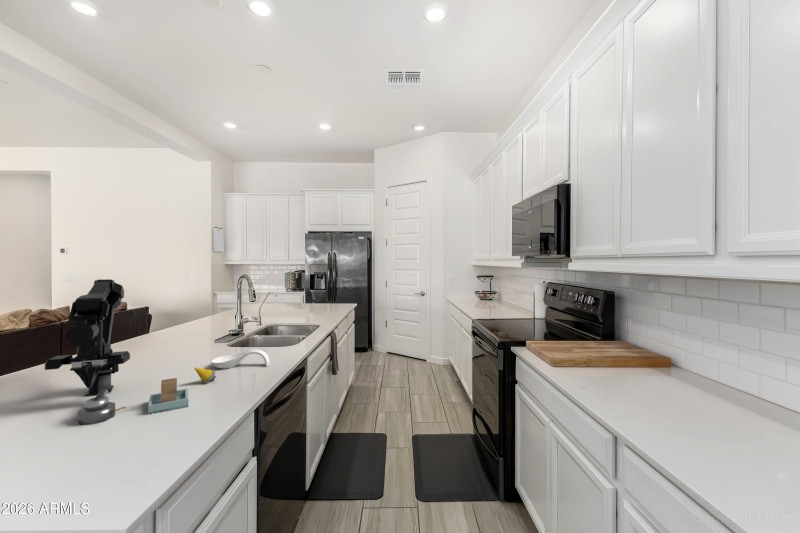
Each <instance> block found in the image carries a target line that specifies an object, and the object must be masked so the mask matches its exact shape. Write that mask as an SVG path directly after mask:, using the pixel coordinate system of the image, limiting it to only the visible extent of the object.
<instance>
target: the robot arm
mask: <svg viewBox="0 0 800 533" xmlns="http://www.w3.org/2000/svg"><path fill="white" fill-rule="evenodd" d="M124 298H125V290H124V287H123V285H122V284H120V283H117V282H115V280H114V279H97V280H96V279H95V280H94V281H93V285H92V287H91V289H90V290H89V291H88V293H86V294H83V295H80V296H78V297H77V298H76V299H75V300H74V301H73V302H72V305H71V307H70V313H69V316H68V321H67V322H68V323H75V324H74V325H73V326H71V327H70V328H69V329H68V331H67V332H66V335H65V337H66V339H67V341H68V342H69V343H70V344H73V345H74V347H75V348H76V356H74V357H73V355H72V354H65V355H55V356H54V357H52V358H48V359H47V360H46V361H45V362H44V370H45V371H48V370H49V371H50V370H51V371H52V370H58V369H60V368H61V367H62V366H66V365H71V368H70V369H69V371H73V372H74V373H75V374H76V375H77V376H78V378H80V380H81V382H82V383H83V384H84V385H85V387H86V388H88V390H87V391H86V393H85V394H84V396H85V397H88V396H95V395H96V396H97V394H98V392H99V391H98V377H100V376H104V375H111V376H112V374H115V373H118V372H119V367H120V366H119V365H122V364H125V363H126V362H128V361H129V360H130V359H131V353H130V352H129V351H128V350H126V351H125V350H124V351H123V350H122V351H114V350H113V349H112V346H111V345H112V344H111V339H112V338H111V337H112V331H113V324H114V317H115V310H116V309H117V308H118V307H119V306H120V305H121V304H122V299H124ZM114 387H115V386H114V384H111V389H110V390H108V393H112V391H113V389H114Z"/></svg>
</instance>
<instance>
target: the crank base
mask: <svg viewBox="0 0 800 533" xmlns="http://www.w3.org/2000/svg"><path fill="white" fill-rule="evenodd" d="M125 407H126V406H122V407H119V408H116V403H115V402H113V401H109V405H108V406H107V407H104V408H102V409H98V410H93V411H86V410H85V406H84V407H81V408H80V409H78V410H77V411H76V412H77V413H76V414H77V416H76V423H77V425H80V426H90V425H96V424H100V423H102V422H106V421H109V420H110V418H111V419H113V418H114V417H115V416H116V412H117V411H120V409H121V410H123V409H125ZM108 419H109V420H108Z"/></svg>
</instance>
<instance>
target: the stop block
mask: <svg viewBox="0 0 800 533" xmlns="http://www.w3.org/2000/svg"><path fill="white" fill-rule="evenodd" d="M177 385H178V378H177V377H174V378H168V379H167V378H166V379H161V384H160V393H161V403H164V402H170V401H175V400H177V390H178V386H177Z"/></svg>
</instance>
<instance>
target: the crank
mask: <svg viewBox="0 0 800 533" xmlns="http://www.w3.org/2000/svg"><path fill="white" fill-rule="evenodd" d="M111 385H112V374H111V375H104V376H100V377H98V391H99V392H98V394H96V396H95V397H93V398H89V399H87V400H86V401H85V402H84V407H85V410H86V411H93V410H98V409H102V408H104V407H107V406H108V405H109V402H110V401H109V399H110V398H109V397H108V396H107V394H108V393H109V392H108V390H110V389H111Z"/></svg>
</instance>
